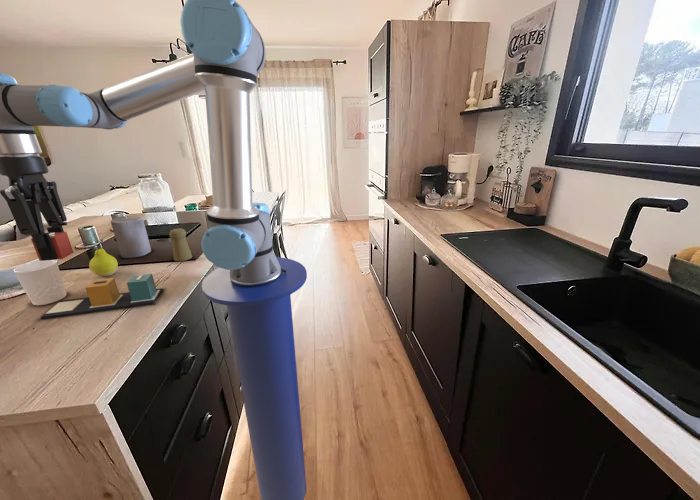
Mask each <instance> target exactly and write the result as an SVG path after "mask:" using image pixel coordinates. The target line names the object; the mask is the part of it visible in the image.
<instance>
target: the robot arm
mask: <svg viewBox="0 0 700 500" xmlns="http://www.w3.org/2000/svg"><path fill="white" fill-rule="evenodd" d="M179 21H180V31H181V35H182V38H183V41H184V42H185V43H186V46H187V48H188V49H189V50H190V51H191V53H190V54H187V55H185V56H182V57H179V58H178V59H175V60H172V61H169V62H167V63H164V64H162V65H159V66H157V67H154V68H152V69H150V70H147V71H144V72H142V73H139V74H137V75H134V76H132V77H129V78H126V79H124V80H121V81H119V82H116V83H114V84H111V85H109V86H106V87H104V88H101V89H99V90H96V91H92V92H90V93H87V92H81V91H79V90H78V89H77V88H75V87H71V86H66V85H57V84H48V85H44V84H43V85H39V84H38V85H36V84H35V85H33V84H32V85H29V84H28V85H25V84H23V85H21V84H18V81H17V80H16V79H15V78H14V77H13V76H11V75H10V74H6V73H2V72H1V73H0V175H1V176H4V177H7V178H8V186H9V187H8V188H7V189H5V188H4V189H0V195H1V197H3V199H4V200H5V201H6V203H7V206H8V208H9V210H10V213H11V215H12V217H13V219H14V222H15V225H16V227H17V229H18V231H19V233H20V234H21V235H23V236H31V239H32V238H33V241H34V243H35V246H36V247H37V250H38V252H39V254H40V257H41V259H42V261H46V260H56V261H57V260H59V259H58V257H57V254H56V251H55V249H54V246H53V244H52V241H51V238H50V236H49V233H56V232H65V230H64V227H63V226H68V219H67V215H66V213H65V210H64V206H63V204H62V201H61V198H60V195H59V193H58V187H57V182H56V181H48V180H47V178H45V176H44V174H48V173H49V168H48V165H47V161H46V160H45V157H44V156H41V154H43V151H42V147H41V145H40V142H39V139H38V138H37V135H36V132H35V128H34V127H64V128H86V129H100V130H101V129H102V130H115V129H116V130H117V129H121V128H123V127H124V126H125V125H126V124H127V122H128V121H129V120H132V119H135V118H137V117H140V116H143V115H145V114H148V113H151V112H153V111H156V110H159V109H160V108H163V107H166V106H168V105H171V104H174V103H177V102H179V101H183V100H184V99H188V98H190V97H192V96H195V95H199V94H201V93H203V92H204V97H205V110H206V122H207V123H206V124H207V136H208V137H207V138H208V150H209V162H210V178H211V191H212V203H213V204H212V205H211V206H210V207H208V209H207V210H206V218H207V219H206V221H207V230H206V231H205V232H204V234H203V236H202V238H201V242H200V246H201V251H202V253H203V254H204V256H205V258H206V259H207V260H208V262H210V263H212V264H213V265H214V266H216V267H217V268H219V267H220V268H223V269H227V270H230V280H231V282H232V283H233V284H234V285H237V286H240V287H258V286H263V285H267V284H270V283H272V282H274V281H276V280H277V279H278V278H279V277H280V276H281V271H282V272H284V273H286V271H287V270H284V269H282V268H281V267H280V264H279V262H278V260H277V258H276V257H277V256H276V253H275V252H274V244H273V235H272V233H273V232H272V224H271V212H270V208H269V205H268V204H267V203H264V202H253V177H252V176H253V175H252V173H253V172H252V171H253V170H252V133H251V131H252V130H251V95H250V94H251V93H252V91H254V90H255V89H256V88H257V87H258V75H259V74H260V73H261V71H262V70H263V69H264V66H265V63H266V55H267V54H266V52H267V51H266V46H265V42H264V38H263V37H262V35H261V34H260V32H259V31H258V29H257V28H256V27H255V25H254V23H253V22H252V21H251V19H250V17H249V15H248V13H247V11H246V10H245V9H244V7H242V6H241V4H240V3H238V2H237V1H236V0H186V1H185V3H184V5H183V7H182V10H181V13H180V20H179ZM42 216H43V218H44V220H45V222H46V223H47V225H48V226H49V227H46V230H47V232H46V231H45V227H44V222H43V218H42Z"/></svg>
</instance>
